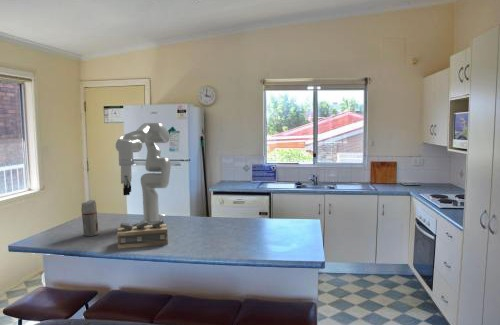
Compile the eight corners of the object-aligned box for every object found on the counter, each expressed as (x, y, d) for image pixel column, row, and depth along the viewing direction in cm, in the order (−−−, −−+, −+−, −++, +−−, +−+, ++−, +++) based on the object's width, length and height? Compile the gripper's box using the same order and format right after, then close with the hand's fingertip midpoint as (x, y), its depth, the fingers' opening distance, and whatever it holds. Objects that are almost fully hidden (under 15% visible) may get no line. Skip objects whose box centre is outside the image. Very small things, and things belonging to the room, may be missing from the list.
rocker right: (152, 225, 215) (151, 222, 214) (163, 221, 216) (162, 219, 216) (152, 227, 211) (151, 224, 210) (163, 223, 212) (163, 220, 212)
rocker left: (120, 225, 210) (121, 222, 210) (132, 227, 212) (132, 224, 212) (120, 227, 206) (120, 224, 206) (131, 229, 208) (132, 226, 208)
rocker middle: (137, 226, 212) (136, 224, 212) (148, 223, 214) (147, 220, 213) (137, 228, 208) (136, 226, 208) (148, 224, 210) (147, 222, 209)
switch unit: (118, 241, 214) (117, 222, 213) (166, 237, 221) (165, 219, 220) (117, 249, 202) (116, 228, 201) (167, 244, 209) (167, 224, 208)
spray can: (93, 237, 224) (91, 202, 222) (80, 236, 225) (78, 201, 223) (101, 233, 232) (100, 199, 230) (89, 232, 234) (87, 198, 232)
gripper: (120, 161, 225) (122, 191, 227) (117, 164, 209) (118, 196, 210) (134, 160, 227) (135, 190, 229) (131, 164, 210) (133, 196, 212)
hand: (127, 193), depth 219 cm, fingers open, 9 cm apart
